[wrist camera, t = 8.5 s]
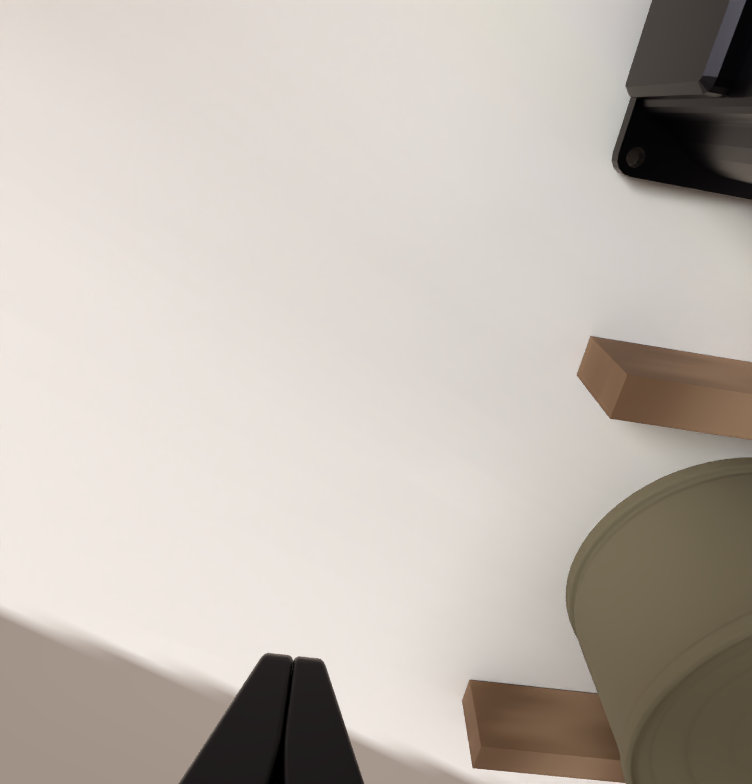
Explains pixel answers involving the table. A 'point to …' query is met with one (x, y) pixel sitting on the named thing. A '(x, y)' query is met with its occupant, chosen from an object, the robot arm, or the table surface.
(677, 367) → the pocket
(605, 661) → the can
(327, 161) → the table surface
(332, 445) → the table surface
